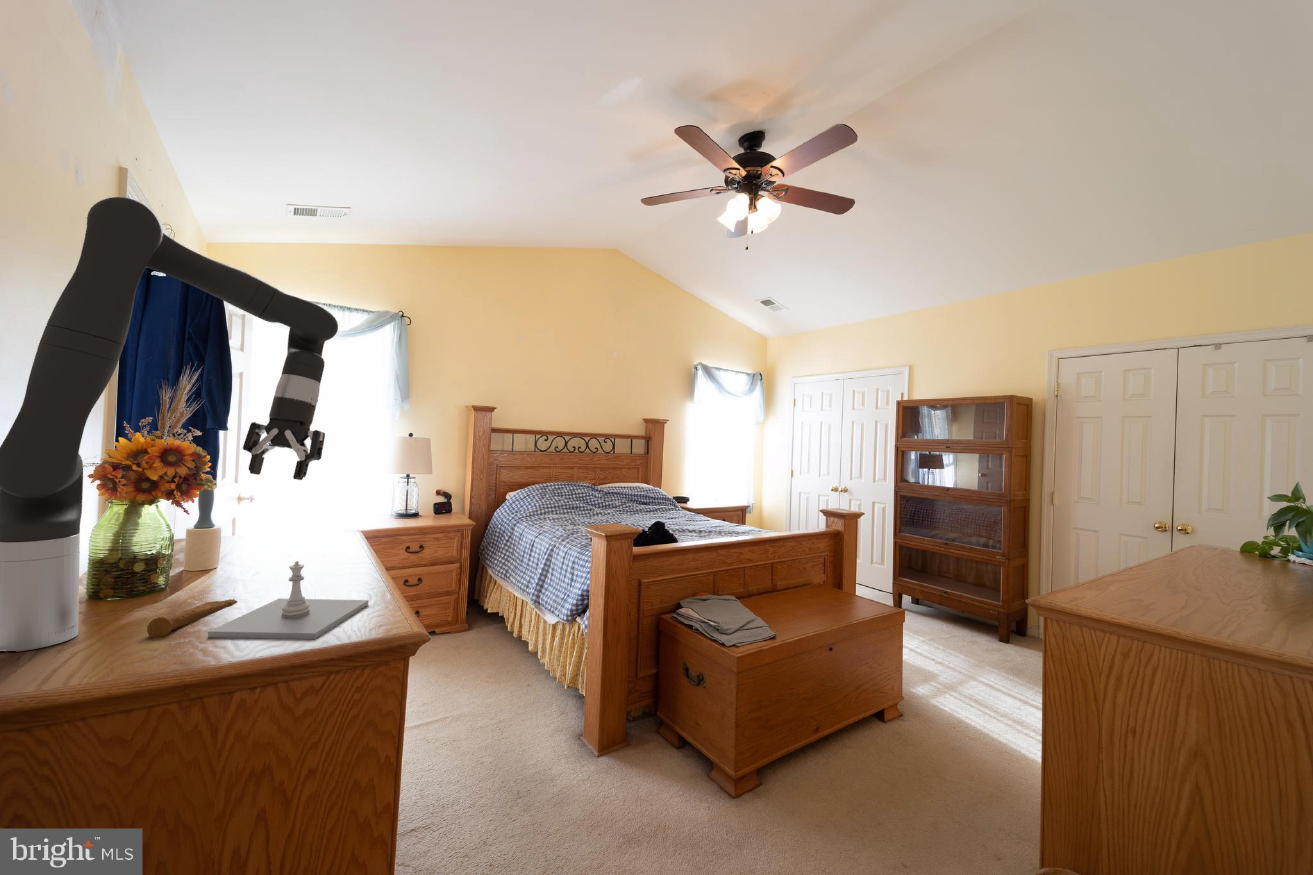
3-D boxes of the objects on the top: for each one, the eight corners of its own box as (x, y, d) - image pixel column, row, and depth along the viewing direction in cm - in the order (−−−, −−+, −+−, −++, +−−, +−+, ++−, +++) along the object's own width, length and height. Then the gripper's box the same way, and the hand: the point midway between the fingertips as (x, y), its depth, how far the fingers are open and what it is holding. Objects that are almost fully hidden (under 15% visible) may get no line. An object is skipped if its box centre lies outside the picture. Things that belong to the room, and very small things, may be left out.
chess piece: (275, 616, 100) (276, 562, 99) (298, 608, 104) (299, 557, 104) (292, 619, 98) (294, 565, 98) (315, 612, 102) (316, 559, 102)
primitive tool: (209, 604, 109) (209, 587, 109) (240, 603, 111) (240, 586, 111) (142, 640, 91) (143, 619, 91) (181, 638, 92) (181, 618, 92)
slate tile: (207, 637, 92) (207, 631, 92) (279, 603, 110) (279, 598, 110) (314, 639, 92) (315, 633, 92) (368, 604, 110) (368, 600, 110)
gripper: (248, 390, 108) (227, 470, 105) (320, 400, 109) (301, 479, 106) (272, 400, 115) (252, 474, 112) (339, 408, 116) (322, 483, 113)
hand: (276, 476), depth 109 cm, fingers open, 8 cm apart
